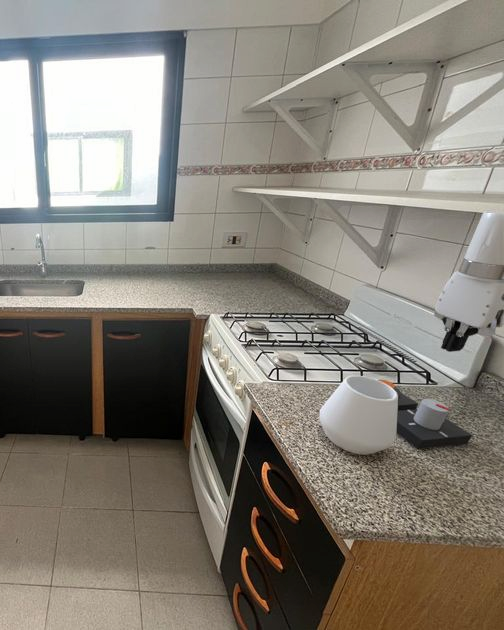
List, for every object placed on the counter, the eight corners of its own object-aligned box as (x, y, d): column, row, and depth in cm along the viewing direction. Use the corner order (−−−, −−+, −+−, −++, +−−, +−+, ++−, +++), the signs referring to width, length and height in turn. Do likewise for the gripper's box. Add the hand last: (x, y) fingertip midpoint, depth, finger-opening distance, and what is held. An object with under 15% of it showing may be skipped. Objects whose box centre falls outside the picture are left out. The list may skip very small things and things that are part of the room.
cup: (384, 474, 68) (411, 418, 62) (307, 439, 76) (324, 387, 70) (391, 437, 76) (416, 386, 71) (321, 410, 85) (338, 362, 79)
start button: (383, 384, 88) (385, 378, 88) (396, 393, 85) (399, 387, 84) (370, 385, 88) (373, 380, 87) (383, 394, 85) (386, 388, 84)
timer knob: (410, 421, 78) (420, 402, 75) (416, 413, 80) (425, 395, 78) (437, 432, 74) (447, 413, 72) (442, 424, 77) (452, 405, 74)
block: (382, 388, 93) (387, 376, 91) (415, 410, 85) (421, 397, 83) (344, 391, 92) (349, 379, 90) (374, 414, 83) (380, 401, 82)
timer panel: (425, 416, 83) (429, 407, 82) (467, 443, 75) (472, 434, 74) (380, 420, 82) (384, 411, 80) (418, 449, 73) (423, 439, 72)
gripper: (553, 280, 63) (506, 365, 70) (462, 259, 76) (431, 333, 84) (517, 282, 62) (473, 369, 69) (431, 261, 76) (403, 335, 83)
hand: (450, 349), depth 77 cm, fingers closed
